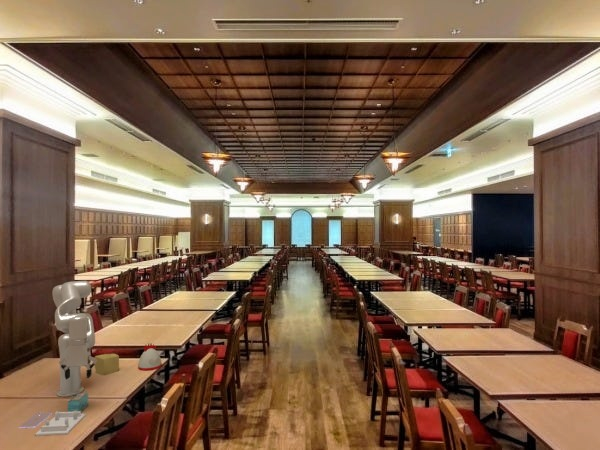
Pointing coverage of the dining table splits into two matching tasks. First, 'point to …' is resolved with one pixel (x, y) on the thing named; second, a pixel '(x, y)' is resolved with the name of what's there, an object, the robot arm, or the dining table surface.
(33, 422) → the mobile phone
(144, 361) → the kitchen timer
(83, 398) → the teal rectangular block
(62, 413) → the tray
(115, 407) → the dining table surface
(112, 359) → the cheese
